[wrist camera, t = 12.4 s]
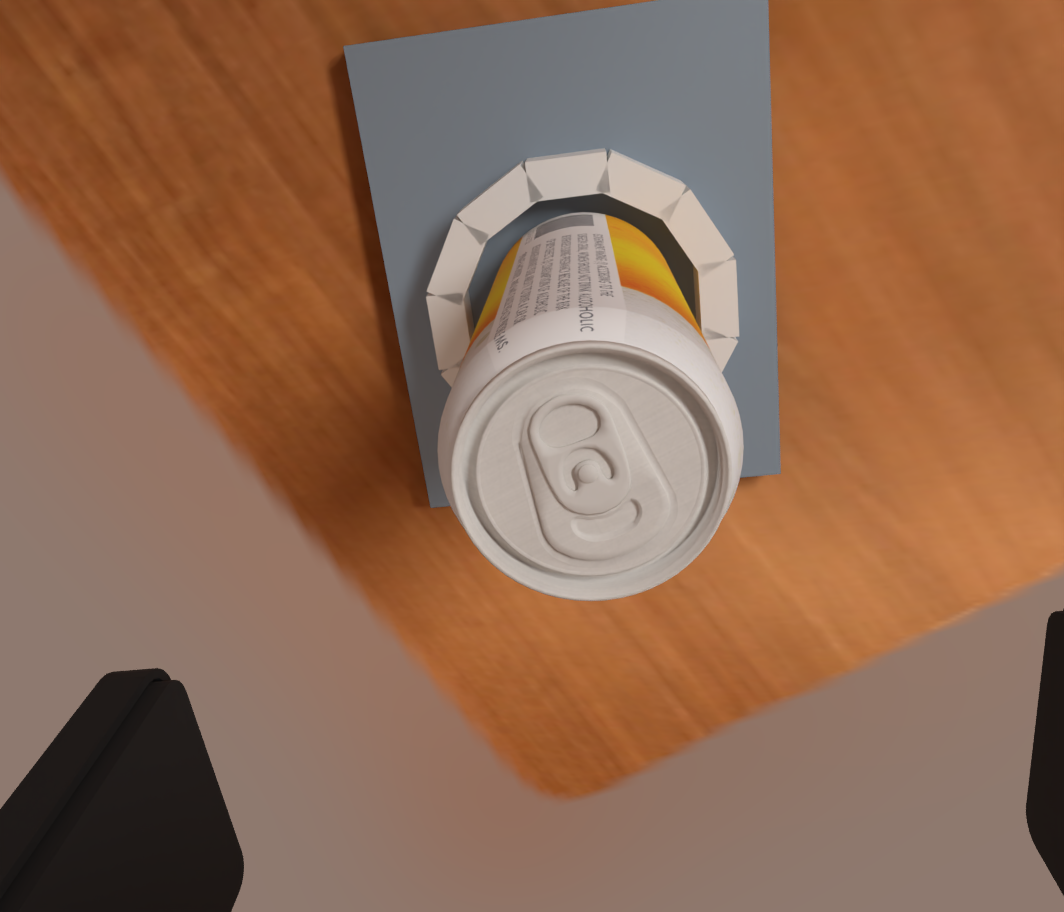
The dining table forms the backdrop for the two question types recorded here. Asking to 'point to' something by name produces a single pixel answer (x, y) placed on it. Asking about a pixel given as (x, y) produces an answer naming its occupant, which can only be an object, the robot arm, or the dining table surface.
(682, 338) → the beer can
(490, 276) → the base board
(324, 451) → the dining table surface
